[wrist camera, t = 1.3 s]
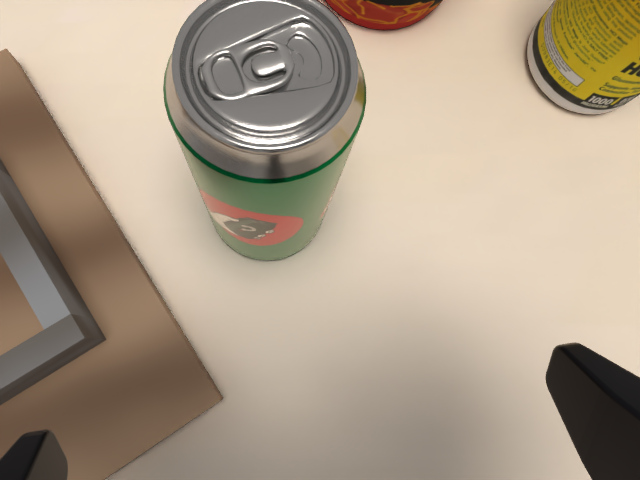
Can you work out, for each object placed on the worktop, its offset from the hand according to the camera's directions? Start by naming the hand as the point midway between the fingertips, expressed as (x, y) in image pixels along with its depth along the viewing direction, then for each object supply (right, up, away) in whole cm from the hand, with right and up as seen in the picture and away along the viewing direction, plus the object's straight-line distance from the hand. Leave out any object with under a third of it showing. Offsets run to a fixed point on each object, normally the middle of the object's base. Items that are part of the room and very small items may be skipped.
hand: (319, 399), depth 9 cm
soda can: (-2, +4, +14) cm, 15 cm away
